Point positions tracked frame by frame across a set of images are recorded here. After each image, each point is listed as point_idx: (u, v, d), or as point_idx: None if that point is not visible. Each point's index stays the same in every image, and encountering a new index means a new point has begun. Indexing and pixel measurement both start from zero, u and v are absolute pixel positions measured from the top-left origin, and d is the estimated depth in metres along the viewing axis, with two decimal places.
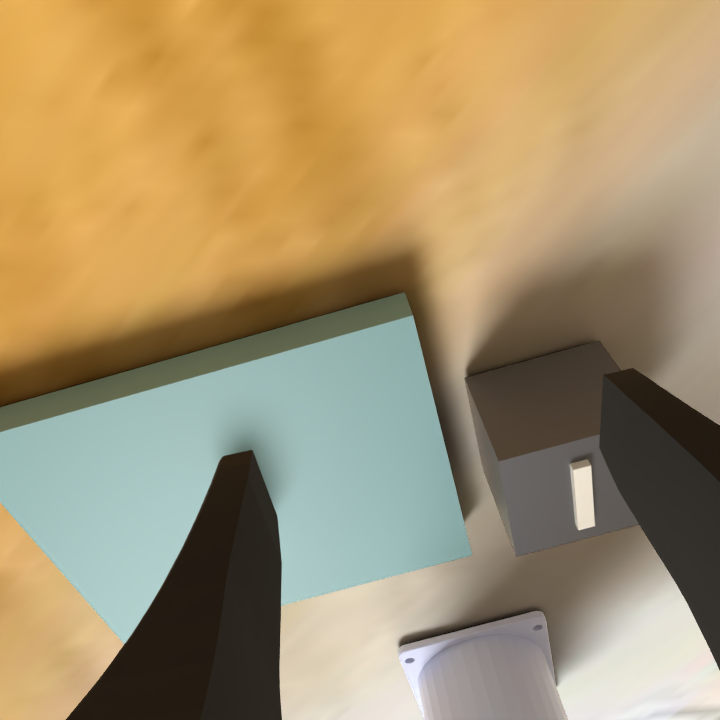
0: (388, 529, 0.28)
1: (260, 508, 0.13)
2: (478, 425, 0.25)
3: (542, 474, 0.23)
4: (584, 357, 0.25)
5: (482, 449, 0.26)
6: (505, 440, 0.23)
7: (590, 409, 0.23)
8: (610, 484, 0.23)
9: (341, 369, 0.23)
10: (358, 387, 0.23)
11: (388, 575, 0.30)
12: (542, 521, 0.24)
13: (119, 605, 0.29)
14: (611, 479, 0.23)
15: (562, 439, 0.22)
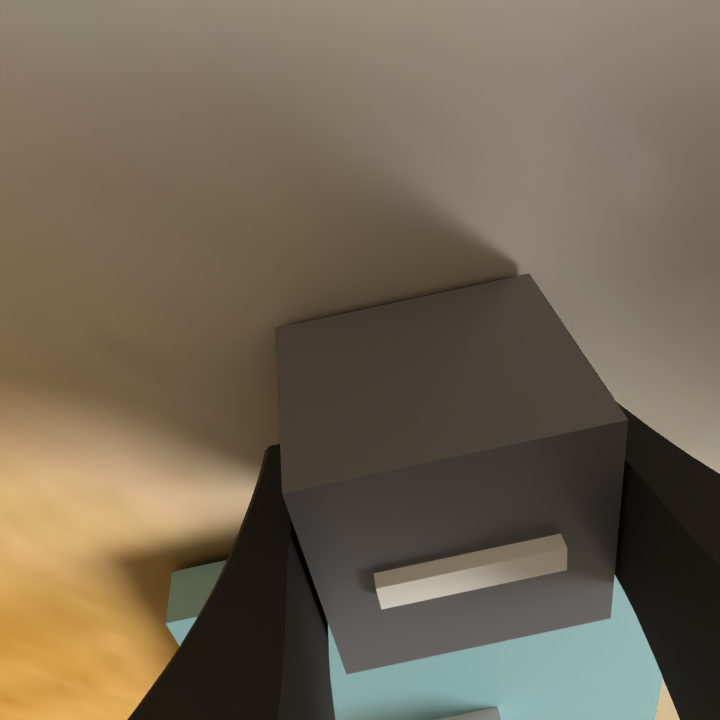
0: None
1: None
2: None
3: (394, 623, 0.12)
4: None
5: None
6: None
7: None
8: (461, 525, 0.11)
9: None
10: None
11: None
12: (527, 601, 0.12)
13: None
14: (446, 527, 0.11)
15: None
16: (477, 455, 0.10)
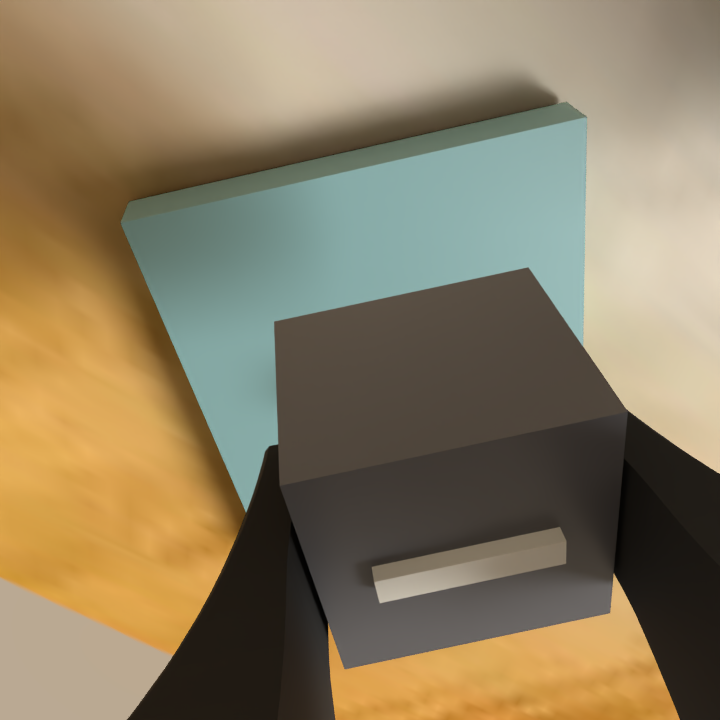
0: (482, 244, 0.20)
1: None
2: None
3: (393, 617, 0.12)
4: None
5: None
6: None
7: None
8: (460, 518, 0.11)
9: (200, 297, 0.20)
10: (227, 280, 0.20)
11: (580, 241, 0.20)
12: (526, 596, 0.12)
13: None
14: (445, 520, 0.11)
15: None
16: (475, 447, 0.10)
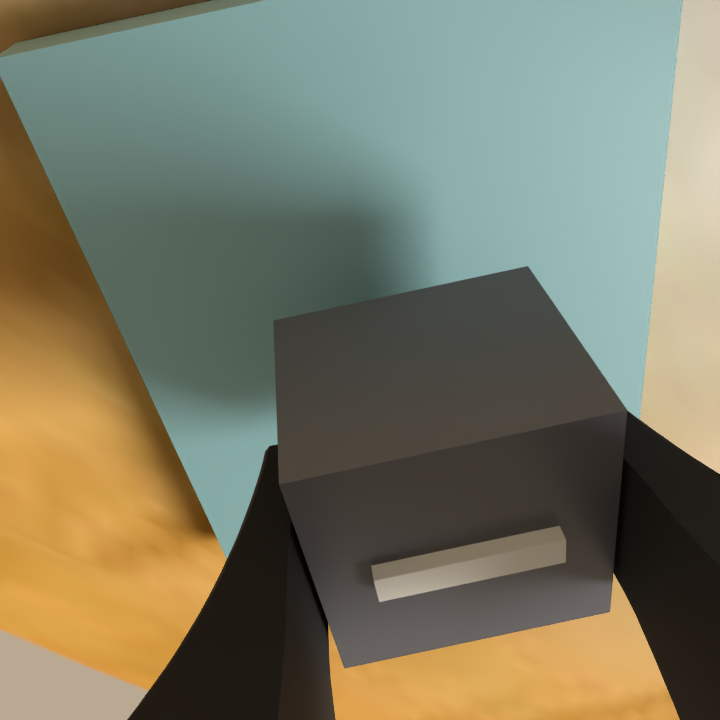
0: (527, 115, 0.14)
1: None
2: None
3: (392, 616, 0.12)
4: None
5: None
6: None
7: None
8: (459, 517, 0.11)
9: (121, 185, 0.14)
10: (159, 160, 0.14)
11: (664, 117, 0.14)
12: (525, 594, 0.12)
13: None
14: (444, 518, 0.11)
15: None
16: (474, 446, 0.10)
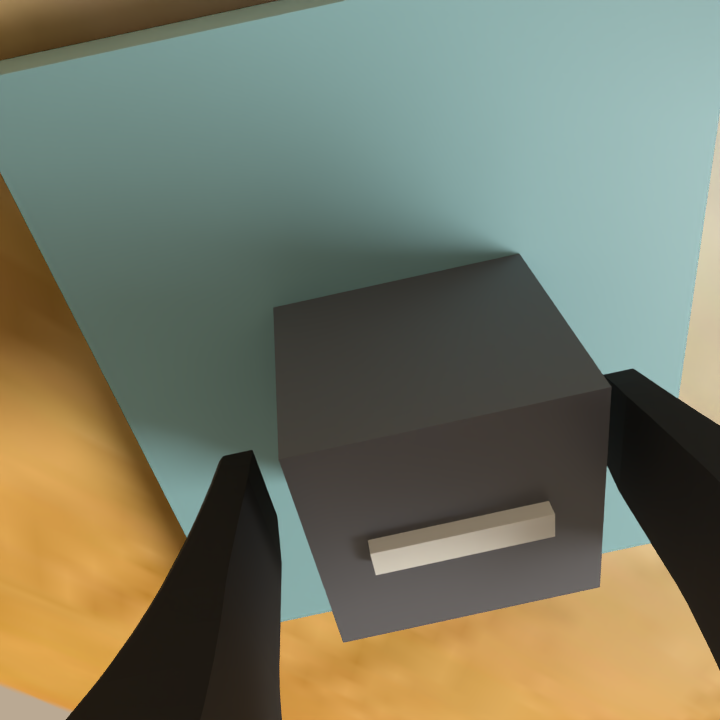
0: (556, 143, 0.13)
1: (260, 508, 0.13)
2: None
3: (389, 590, 0.13)
4: None
5: None
6: None
7: None
8: (452, 492, 0.11)
9: (103, 223, 0.12)
10: (146, 194, 0.12)
11: (708, 145, 0.13)
12: (517, 569, 0.13)
13: None
14: (438, 493, 0.11)
15: None
16: (465, 422, 0.10)
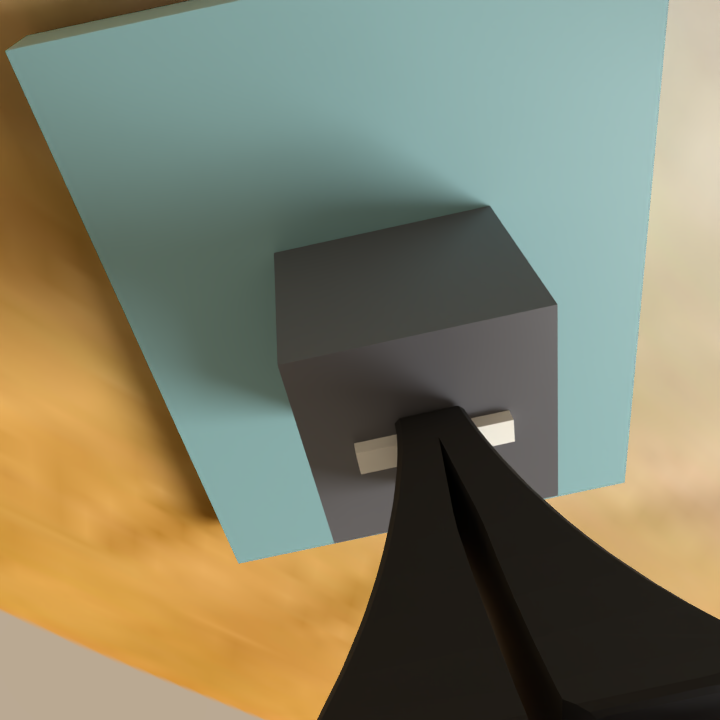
0: (519, 106, 0.15)
1: None
2: None
3: (373, 493, 0.15)
4: None
5: None
6: None
7: None
8: (425, 399, 0.13)
9: (127, 174, 0.14)
10: (164, 149, 0.14)
11: (652, 109, 0.15)
12: None
13: None
14: (413, 400, 0.13)
15: None
16: (435, 334, 0.12)
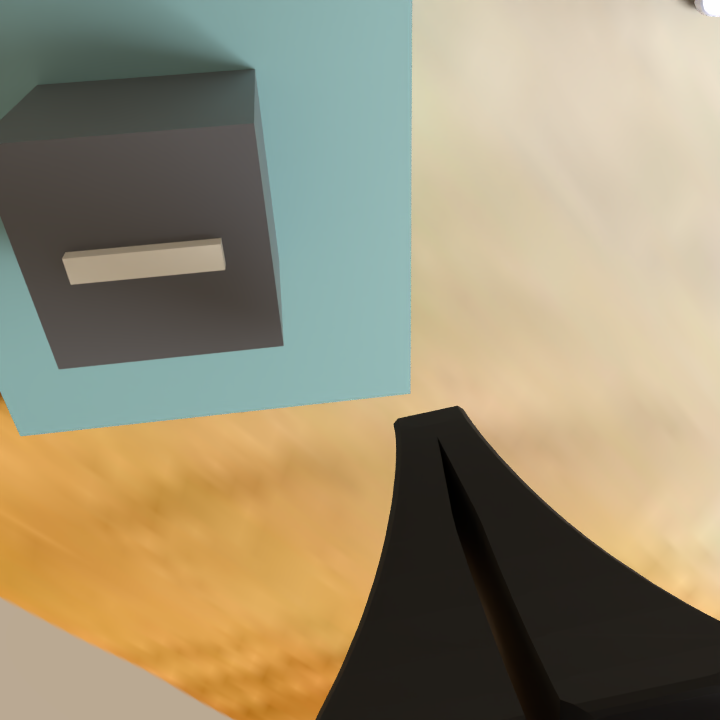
0: None
1: None
2: None
3: (92, 315, 0.15)
4: None
5: None
6: None
7: None
8: (134, 212, 0.14)
9: None
10: None
11: None
12: (206, 311, 0.15)
13: (326, 377, 0.22)
14: (121, 211, 0.14)
15: None
16: (133, 136, 0.13)
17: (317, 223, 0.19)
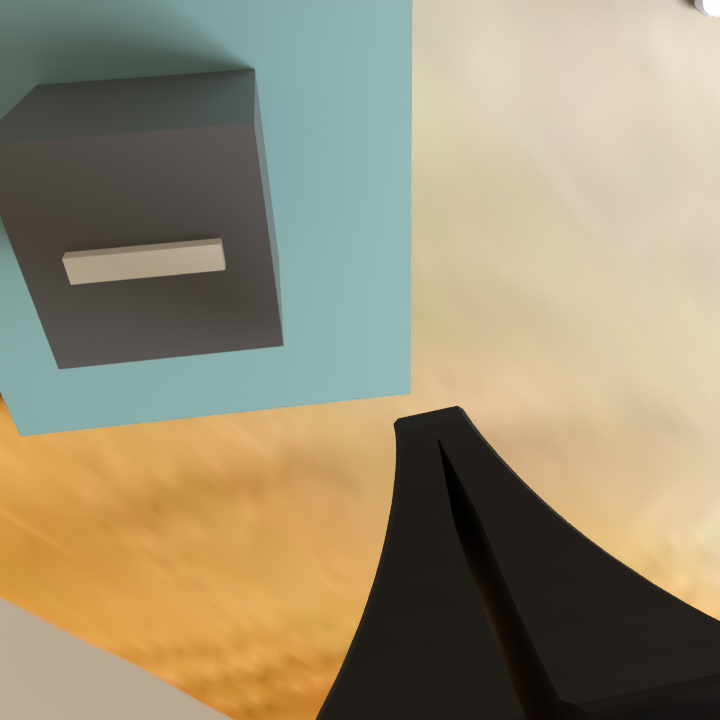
0: None
1: None
2: None
3: (92, 315, 0.15)
4: None
5: None
6: None
7: None
8: (134, 212, 0.14)
9: None
10: None
11: None
12: (206, 311, 0.15)
13: (326, 377, 0.22)
14: (121, 211, 0.14)
15: None
16: (133, 136, 0.13)
17: (317, 223, 0.19)
